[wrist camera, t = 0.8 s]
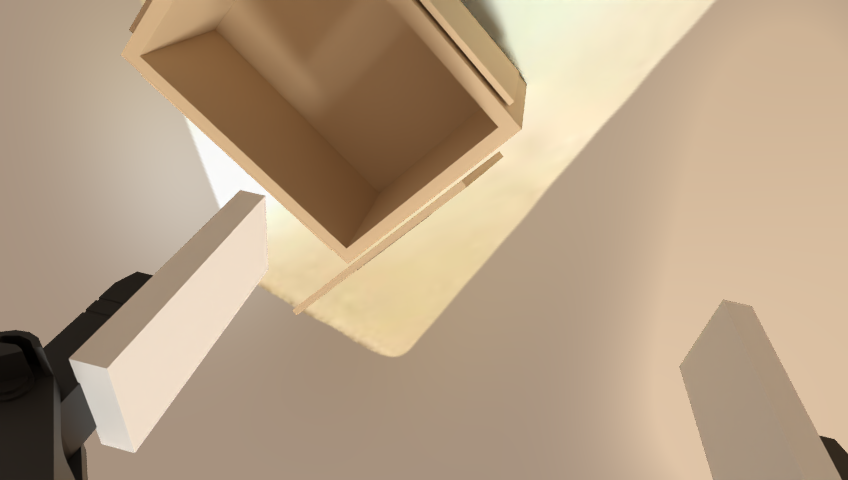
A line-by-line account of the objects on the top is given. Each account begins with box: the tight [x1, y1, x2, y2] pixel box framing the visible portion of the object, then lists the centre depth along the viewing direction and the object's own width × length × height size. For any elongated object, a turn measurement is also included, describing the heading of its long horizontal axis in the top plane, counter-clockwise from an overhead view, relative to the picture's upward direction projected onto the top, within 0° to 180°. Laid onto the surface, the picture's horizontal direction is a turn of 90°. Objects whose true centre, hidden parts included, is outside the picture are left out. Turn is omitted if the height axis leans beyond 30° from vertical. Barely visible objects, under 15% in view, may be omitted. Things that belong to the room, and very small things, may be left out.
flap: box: [293, 152, 503, 315], centre depth 31 cm, size 8×14×1 cm
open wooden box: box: [121, 0, 527, 263], centre depth 37 cm, size 22×18×10 cm
